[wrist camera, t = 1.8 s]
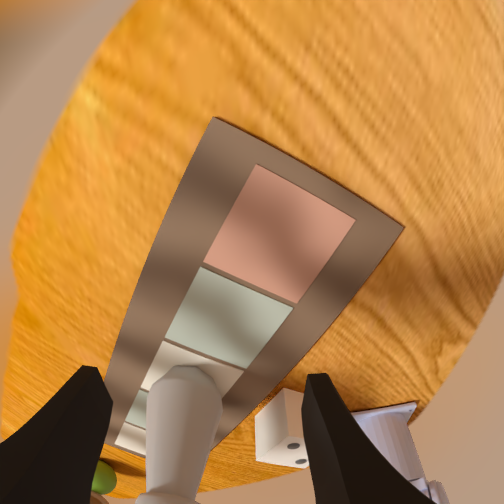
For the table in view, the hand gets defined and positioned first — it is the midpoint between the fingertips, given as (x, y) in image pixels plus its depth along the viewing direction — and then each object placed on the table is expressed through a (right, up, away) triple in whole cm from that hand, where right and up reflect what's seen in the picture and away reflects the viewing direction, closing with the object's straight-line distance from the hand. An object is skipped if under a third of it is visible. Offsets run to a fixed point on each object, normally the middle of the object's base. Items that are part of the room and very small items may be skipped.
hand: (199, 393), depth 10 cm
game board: (-3, -5, +14) cm, 16 cm away
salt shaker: (-3, -6, +14) cm, 16 cm away
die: (+5, -10, +17) cm, 20 cm away
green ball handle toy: (-19, -25, +25) cm, 40 cm away
